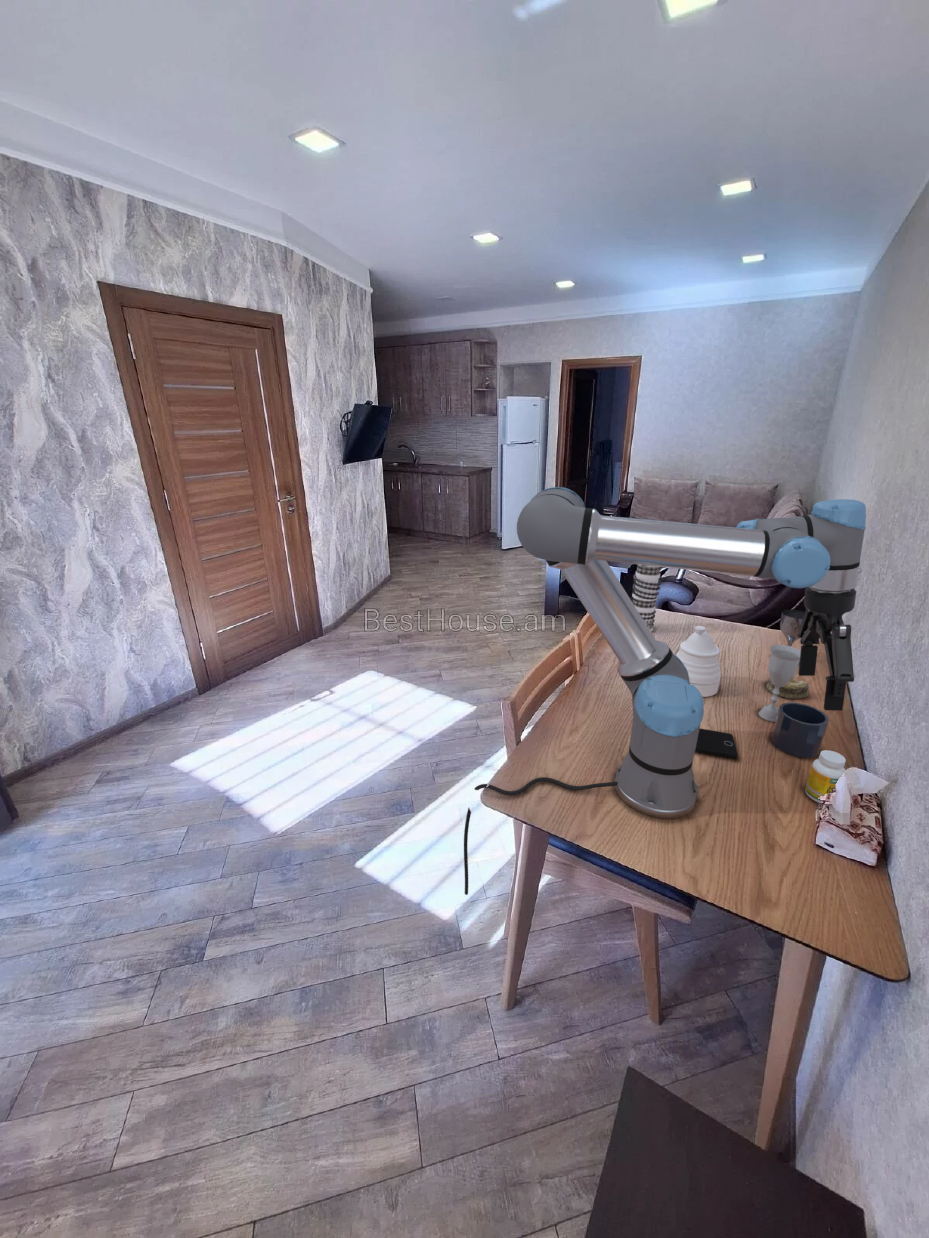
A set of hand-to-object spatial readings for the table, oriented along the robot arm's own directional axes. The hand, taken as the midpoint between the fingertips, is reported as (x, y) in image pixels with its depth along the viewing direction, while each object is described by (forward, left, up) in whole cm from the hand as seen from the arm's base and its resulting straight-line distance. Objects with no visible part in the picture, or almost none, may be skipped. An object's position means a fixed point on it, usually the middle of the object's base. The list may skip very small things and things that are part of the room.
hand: (818, 691), depth 98 cm
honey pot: (+7, +37, -20) cm, 43 cm away
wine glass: (+45, +40, -20) cm, 64 cm away
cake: (+29, +26, -20) cm, 44 cm away
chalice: (+14, +18, -20) cm, 31 cm away
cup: (+9, +7, -20) cm, 23 cm away
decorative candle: (+19, +76, -20) cm, 81 cm away
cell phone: (-12, +16, -20) cm, 29 cm away
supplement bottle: (-1, -7, -20) cm, 21 cm away
